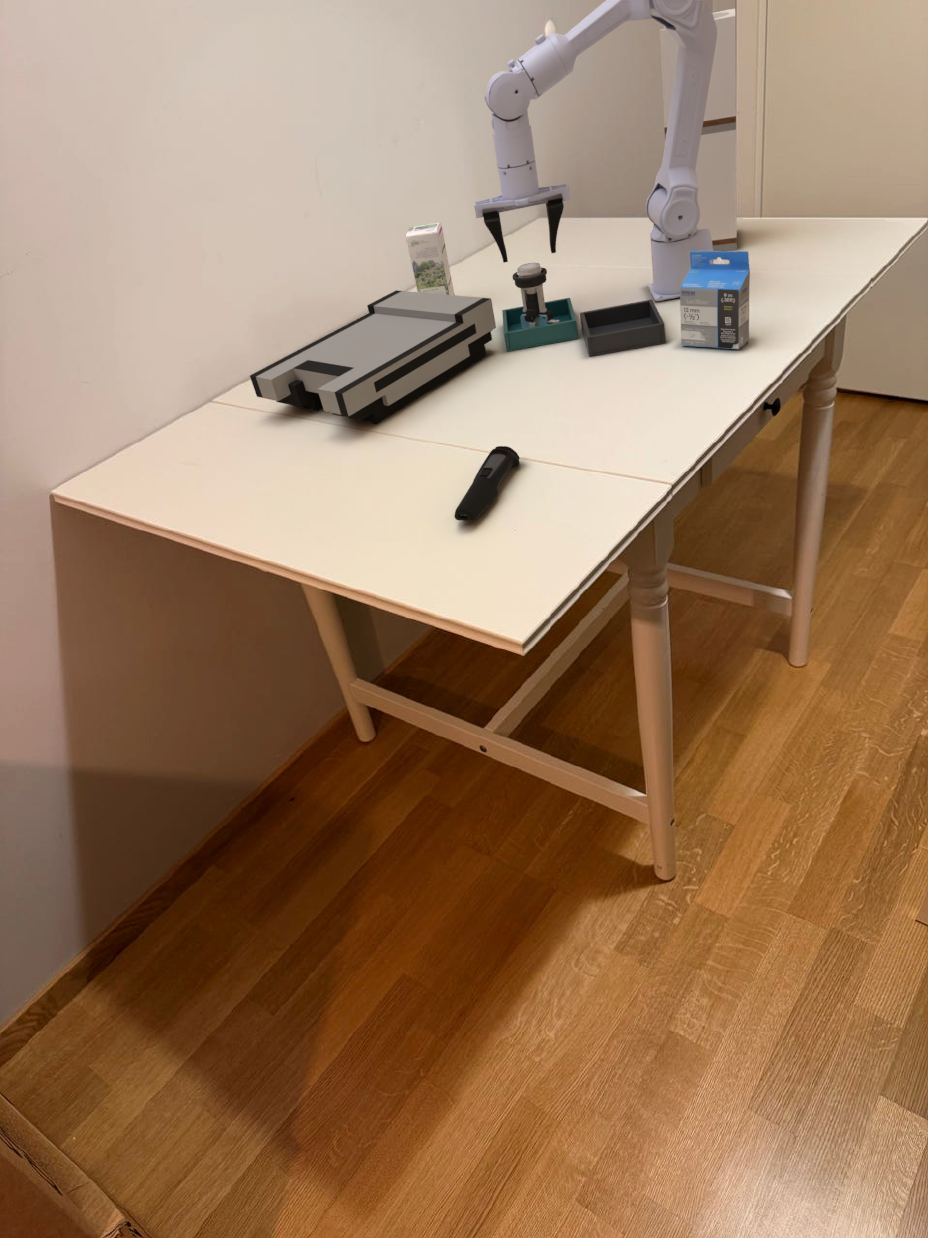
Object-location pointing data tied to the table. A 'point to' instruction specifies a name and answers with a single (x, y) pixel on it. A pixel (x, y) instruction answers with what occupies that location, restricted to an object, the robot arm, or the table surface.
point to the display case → (713, 132)
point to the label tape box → (716, 300)
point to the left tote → (540, 334)
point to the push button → (532, 295)
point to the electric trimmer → (486, 483)
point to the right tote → (622, 327)
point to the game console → (383, 356)
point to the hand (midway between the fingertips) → (529, 255)
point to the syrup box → (429, 259)
